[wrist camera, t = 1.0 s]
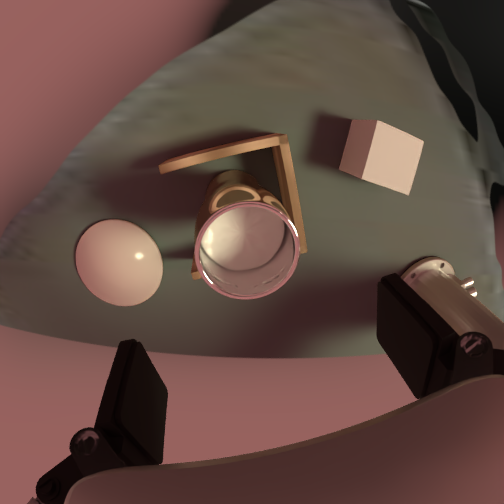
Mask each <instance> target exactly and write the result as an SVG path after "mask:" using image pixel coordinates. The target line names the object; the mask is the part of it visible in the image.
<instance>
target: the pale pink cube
mask: <svg viewBox="0 0 504 504" xmlns="http://www.w3.org/2000/svg"><path fill="white" fill-rule="evenodd" d="M423 143H424V141H422V140H420V139H418V138H416V137H414V136H412V135H410V134H407V133H405V132H403V131H401V130H399V129H397V128H394V127H392V126H390V125H388V124H385V123H383V122H381V121H378V120H352V122H351V126H350V130H349V134H348V137H347V141H346V145H345V148H344V152H343V156H342V159H341V163H340V166H339V170H341V171H344V172H346V173H348V174H351V175H353V176H356V177H358V178H360V179H363V180H366V181H369V182H372V183H375V184H378V185H381V186H384V187H387V188H390V189H393V190H395V191H398V192H401V193H404V194H406V195H409V192H410V189H411V186H412V183H413V179H414V176H415V172H416V169H417V165H418V162H419V158H420V155H421V151H422V147H423Z"/></svg>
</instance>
